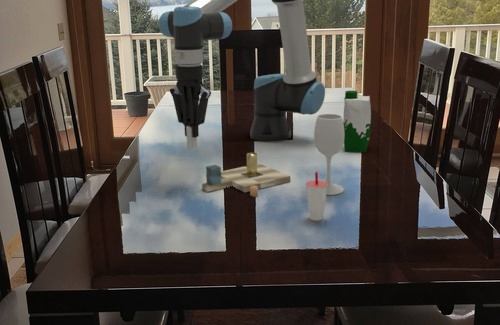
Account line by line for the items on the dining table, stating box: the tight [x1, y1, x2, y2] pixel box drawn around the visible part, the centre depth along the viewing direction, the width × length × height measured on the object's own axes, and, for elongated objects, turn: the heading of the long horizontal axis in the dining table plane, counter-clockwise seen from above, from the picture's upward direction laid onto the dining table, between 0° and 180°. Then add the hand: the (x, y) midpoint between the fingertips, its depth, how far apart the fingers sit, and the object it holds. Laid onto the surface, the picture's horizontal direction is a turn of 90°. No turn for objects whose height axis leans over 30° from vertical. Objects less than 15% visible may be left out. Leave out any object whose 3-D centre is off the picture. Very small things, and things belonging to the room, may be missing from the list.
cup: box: [305, 171, 328, 222], centre depth 150 cm, size 5×5×12 cm
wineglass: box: [313, 113, 345, 196], centre depth 168 cm, size 9×9×21 cm
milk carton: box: [342, 90, 372, 154], centre depth 208 cm, size 9×9×20 cm
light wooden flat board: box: [201, 162, 291, 193], centre depth 178 cm, size 16×24×6 cm, turn 124°
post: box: [246, 152, 258, 178], centre depth 180 cm, size 3×3×8 cm
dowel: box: [249, 186, 259, 198], centre depth 168 cm, size 2×2×3 cm
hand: (192, 147), depth 175 cm, fingers closed
